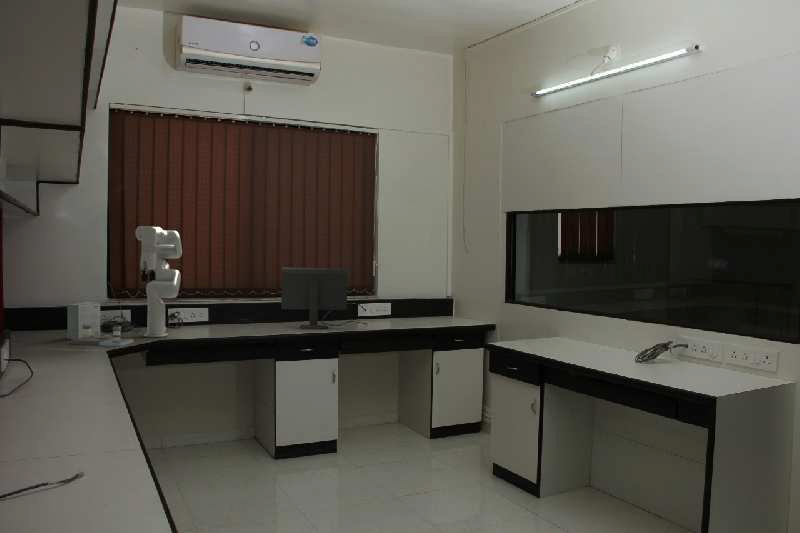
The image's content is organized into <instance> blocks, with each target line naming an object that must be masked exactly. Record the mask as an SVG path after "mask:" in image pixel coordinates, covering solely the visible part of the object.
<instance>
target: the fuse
mask: <svg viewBox="0 0 800 533" xmlns="http://www.w3.org/2000/svg"><path fill="white" fill-rule="evenodd" d="M90 330H91V325H83V339H91V338H90Z"/></svg>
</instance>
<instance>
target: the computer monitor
mask: <svg viewBox="0 0 800 533" xmlns="http://www.w3.org/2000/svg"><path fill="white" fill-rule="evenodd" d="M348 272H349V270H348V268H335V267H334V268H331V267H330V268H329V267H328V268H325V267H322V268H321V267H286V266H285V267H284V266H283V267H281V299H280V300H281V301H280V302H281V303H280V304H281V306H280V307H281V310H309V319H308V320H309V323H308V324H307V323H305V324H304V323H303V324H301V325H299V329H300V328H320V329H319V330H326V329H328V326H327V325H328V324H319V323H318V321H319V320H318V318H319V315H318V314H319V310H322V311H347V310H348V305H347V304H348V276H349V275H348V274H349V273H348Z"/></svg>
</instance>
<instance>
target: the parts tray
mask: <svg viewBox="0 0 800 533" xmlns="http://www.w3.org/2000/svg"><path fill="white" fill-rule="evenodd" d="M120 341H121V343H113V339H110V340H107V341H103V342H99V345H98V346H103V347H105V346H106V347H122V346H125V345H129V344H132V343H134V339H133V338H120Z"/></svg>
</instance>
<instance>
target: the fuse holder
mask: <svg viewBox="0 0 800 533" xmlns="http://www.w3.org/2000/svg"><path fill="white" fill-rule="evenodd" d="M90 338H91V339H83V337H82V338H78V339H70V345H83V346H84V345H85V346H87V345H89V346H99V342H103V341H107V340H110V339H113V336H111V335H109V334H108V335H107V334H105V335H103V336H101V335H100V336H97V335H90Z"/></svg>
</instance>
